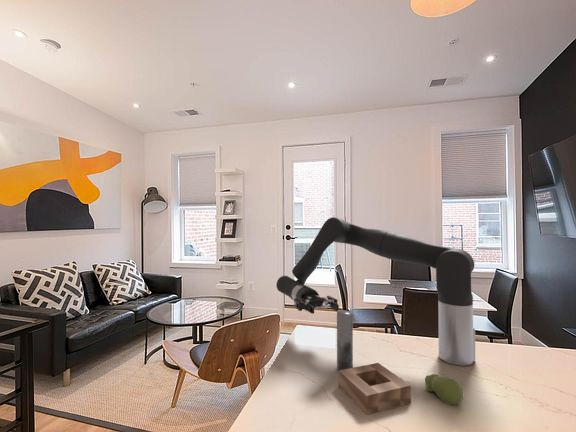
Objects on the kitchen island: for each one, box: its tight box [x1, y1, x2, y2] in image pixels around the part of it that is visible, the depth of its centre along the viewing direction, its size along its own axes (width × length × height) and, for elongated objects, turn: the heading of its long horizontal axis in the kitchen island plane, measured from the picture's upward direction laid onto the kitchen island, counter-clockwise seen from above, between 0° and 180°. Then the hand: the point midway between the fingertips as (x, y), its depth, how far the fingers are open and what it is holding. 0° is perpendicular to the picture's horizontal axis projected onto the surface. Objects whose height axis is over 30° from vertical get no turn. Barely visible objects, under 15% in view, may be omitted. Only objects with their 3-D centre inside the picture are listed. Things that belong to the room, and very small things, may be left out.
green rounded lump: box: [424, 373, 464, 406], centre depth 74 cm, size 6×5×10 cm
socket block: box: [338, 362, 412, 415], centre depth 74 cm, size 12×12×4 cm
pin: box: [336, 310, 354, 372], centre depth 87 cm, size 4×4×16 cm
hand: (325, 309), depth 97 cm, fingers open, 8 cm apart
